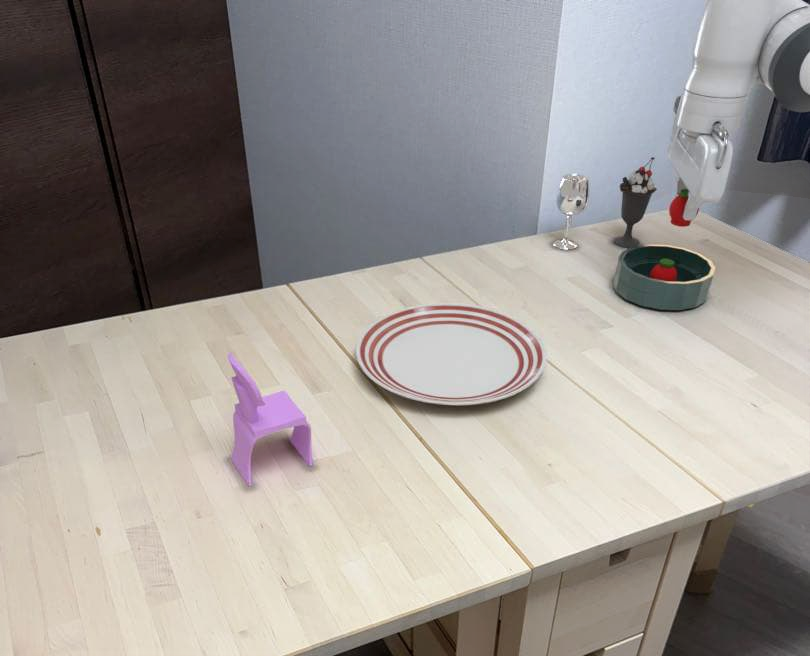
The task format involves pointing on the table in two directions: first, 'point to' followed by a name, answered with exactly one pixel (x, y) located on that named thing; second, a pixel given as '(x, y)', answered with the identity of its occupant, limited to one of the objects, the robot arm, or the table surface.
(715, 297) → the table surface
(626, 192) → the sundae
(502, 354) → the dinner plate
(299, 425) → the toy chair
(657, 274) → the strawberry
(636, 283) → the bowl
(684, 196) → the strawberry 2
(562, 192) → the wineglass
